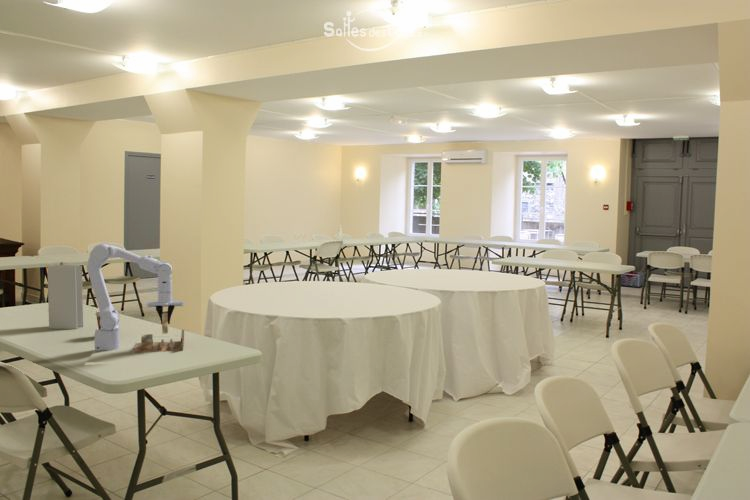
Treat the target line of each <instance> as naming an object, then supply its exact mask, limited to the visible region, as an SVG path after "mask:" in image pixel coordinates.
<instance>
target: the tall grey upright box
mask: <svg viewBox="0 0 750 500" xmlns="http://www.w3.org/2000/svg"><path fill="white" fill-rule="evenodd" d="M46 269H47V298H48V299H47V301H48V303H47V304H48V327H49V329H62V330H63V329H65V330H66V329H67V330H69V329H70V330H78V328H84V301H83V299H84V298H83V295H84V294H83V293H84V292H83V265H74V264H73V265H71V264H70V265H69V264H53V265H47V267H46Z"/></svg>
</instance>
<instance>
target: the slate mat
mask: <svg viewBox="0 0 750 500" xmlns="http://www.w3.org/2000/svg"><path fill="white" fill-rule="evenodd" d="M162 337H163V338H166V337H169V335H158V336H153V338H162ZM176 337H179V334H177V335H176Z"/></svg>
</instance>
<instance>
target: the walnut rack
mask: <svg viewBox="0 0 750 500" xmlns="http://www.w3.org/2000/svg"><path fill="white" fill-rule="evenodd" d="M184 345H185V329H181V334H180V340H179V341H178V340H177V341H176V340H175V341H174V340H173V338H170V339H169V341H165V339H164V338H163V339H161V341H156V342H155V341H153V346H152V349H142V350H141V342H135V343H134V345H133V347H132V350H130V351H131V352H130V354H142V353H145V354H146V353H162V352H163V353H165V352H183V351H184V347H185V346H184Z"/></svg>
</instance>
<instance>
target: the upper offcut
mask: <svg viewBox="0 0 750 500" xmlns="http://www.w3.org/2000/svg"><path fill="white" fill-rule="evenodd" d="M153 338H154V336H153V334H150V333H149V334H146V333H145V334H142V335H141V338H140V341H141V342H140V343H152V340H153V341H154V339H153Z"/></svg>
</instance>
